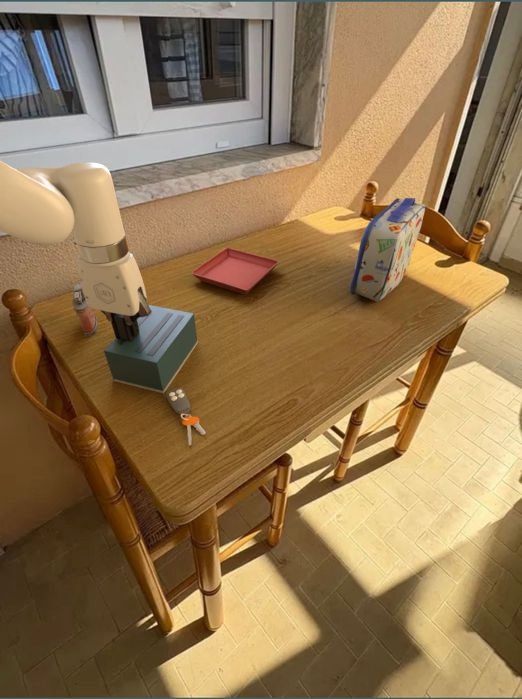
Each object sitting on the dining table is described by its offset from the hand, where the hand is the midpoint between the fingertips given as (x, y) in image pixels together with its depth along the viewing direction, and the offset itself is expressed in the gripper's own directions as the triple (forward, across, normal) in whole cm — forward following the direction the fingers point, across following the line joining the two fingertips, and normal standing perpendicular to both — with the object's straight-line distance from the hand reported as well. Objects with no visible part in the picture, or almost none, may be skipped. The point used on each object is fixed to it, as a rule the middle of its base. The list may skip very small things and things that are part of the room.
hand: (128, 335), depth 74 cm
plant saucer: (+8, +8, +41) cm, 42 cm away
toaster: (+8, +4, +3) cm, 9 cm away
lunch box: (+9, +46, +50) cm, 69 cm away
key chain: (+8, +16, -9) cm, 20 cm away
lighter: (+8, -18, +9) cm, 21 cm away
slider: (0, 0, 0) cm, 0 cm away
